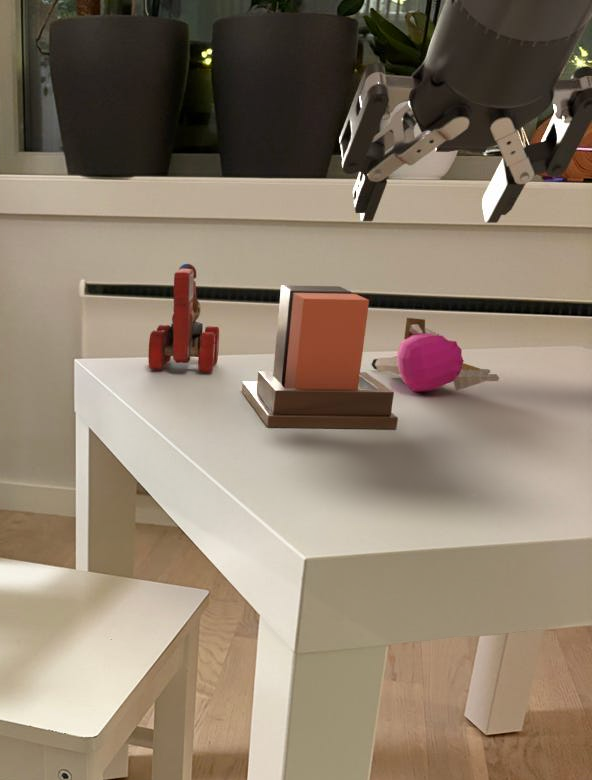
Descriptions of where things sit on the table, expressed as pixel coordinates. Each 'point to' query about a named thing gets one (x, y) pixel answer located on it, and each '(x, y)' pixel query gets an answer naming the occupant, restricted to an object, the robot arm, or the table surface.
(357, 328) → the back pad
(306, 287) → the brown wooden stand
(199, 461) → the table surface
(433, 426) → the table surface
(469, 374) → the toy
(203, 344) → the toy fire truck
